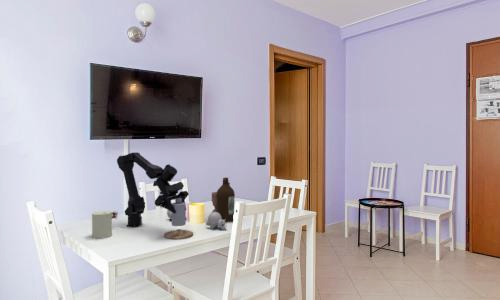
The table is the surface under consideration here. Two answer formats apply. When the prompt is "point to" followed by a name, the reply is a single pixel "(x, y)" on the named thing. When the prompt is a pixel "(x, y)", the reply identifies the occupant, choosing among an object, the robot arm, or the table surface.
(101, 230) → the can
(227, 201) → the olive oil
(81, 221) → the table surface
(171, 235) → the cheese board
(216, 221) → the chubby cartoon animal
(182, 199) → the robot arm
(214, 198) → the mortar and pestle
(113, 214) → the grandmother figurine
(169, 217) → the ceramic mug
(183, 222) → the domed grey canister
